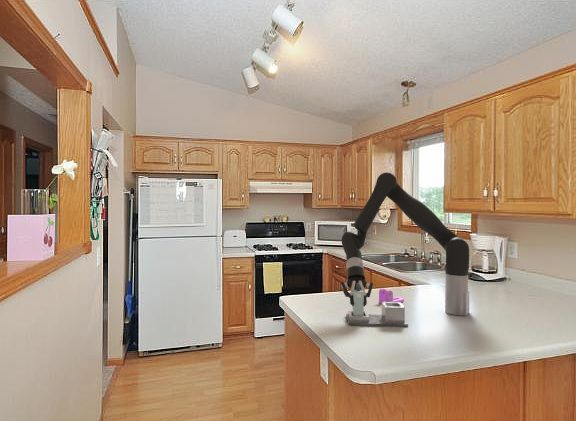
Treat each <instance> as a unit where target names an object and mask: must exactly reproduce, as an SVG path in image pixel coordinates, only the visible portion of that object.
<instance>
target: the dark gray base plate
mask: <svg viewBox="0 0 576 421" xmlns="http://www.w3.org/2000/svg"><path fill="white" fill-rule="evenodd" d="M405 311H406V308H405V306H404V305H403V304H402V302H401V303H400V302H382V303H381V314H372V313H370V314H368V312H367V311H366V310H365V311H364V316H353V310H347V313H346V314H345V317H346V318H345V319H346V321H347V324H348V326H349V327H354V326H355V327H395V328H396V327H400V328H402V327H403V328H407V327H409V323H407V321H406V319H405V317H406V312H405Z"/></svg>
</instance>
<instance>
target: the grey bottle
mask: <svg viewBox="0 0 576 421" xmlns="http://www.w3.org/2000/svg"><path fill="white" fill-rule="evenodd" d="M353 298H354V306H352V311H353V316H364V310H365V309H364V307H365V306H364V292H363V290H360V283H356V290H353Z"/></svg>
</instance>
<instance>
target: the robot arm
mask: <svg viewBox="0 0 576 421" xmlns="http://www.w3.org/2000/svg"><path fill="white" fill-rule="evenodd" d="M386 198H388V199H390V201H392V202H393V203H394V204H395V205H396V206H397V207H398V208H399V209H400V210H401V212H402V213H403V214H404V215H405V216H406V217H408V219H409V220H410V221H411V222H412V223H414V225H416V226H417V228H419V229H421V230H422V231H423V232H425V234H428V235H429V236H430V237H432V238H433V239H434V240H435V241H436V242H437V243H438V244H439V245H440V246H441V247H442V249H444V251H445V269H444V270H445V271H444V276H445V277H444V278H445V281H444V282H445V283H444V284H445V286H444V293H445V294H444V297H445V299H444V304H445V306H444V308H445V310H444V311H445V313H446V314H449V315H454V316H465V317H466V316H468V314H470V291H469V270H470V246H469V244H468V243H467V241H465V240H464V239H463V238H461V237H459V236H458V235H457V234H455V233H454V232H453V231H452V230H450V229H449V228H448V227H447V226H445V224H444V223H443V222H442V221H441V220H440V218H439V217H438V216H437V215H436V213H434V212H433V211H432V210H431V209H430V208H429V207H428V206H427V205H426V204H425V203H424V202H422V201H421V200H419V199H418V198H416V197H414V196H413V195H411V194H410V193H409V192H407V191H405V189H403V187H401V185H400V184H399V183H398V181H397V178H396V176H395V174H394V173H391V172H390V171H389V172H388V171H387V172H386V171H385V172H383V173H381V174H380V175H378V176H377V178H376V181H375V185H374V187H373V191H372V192H371V195H370V196H369V199H368V200H367V201H366V203H365V205H364V206H363V208H362V210H360V212H359V214H358V216H357V217H356V220H355V221H354V223H353V227H354V228H355V229H356V230H357V232H356V233H354V232H352V231H345V232H344V233H343V234H342V237H341V245H342V249H343V251H344V254H345V257H346V258H345V259H346V264H345V266H346V278H347V280H346V282H344V281H342V282H341V283H340V287H341V290H342V292H343V294H344V296H345V298H349V304H350V305H351V306H352V307H353V306H354V298H353V290H356V283H360V290H363V292H364V307H366V306H367V304H368V303H367V302H368V301H367V298H370V297H371V293H372V289H373V286H374V283H373V282H368V281H367V280H366V274H365V266H364V262H363V255H362V251H361V250H362V248H363V246H364V245H365V241H366V238H367V234H368V231H369V229H370V227H371V226H372V224H373V222H374V220H375V218H376V216H377V215H378V212H379V211H380V208H381V207H382V204H383V202H384V201H385V200H386ZM347 287H348V288H349V289H350V292H349V290H348V289H347ZM365 287H367V289H368V290H367V292H366V289H365Z"/></svg>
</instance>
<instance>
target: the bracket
mask: <svg viewBox="0 0 576 421" xmlns="http://www.w3.org/2000/svg"><path fill="white" fill-rule="evenodd" d="M382 302H400V303H401V304H402V303H404V302H405V298H403V297H399V296H394V292H393V290H391V289H385V288H383V287H382V288H380V289H379V291H378V303H379V304H382Z"/></svg>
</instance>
